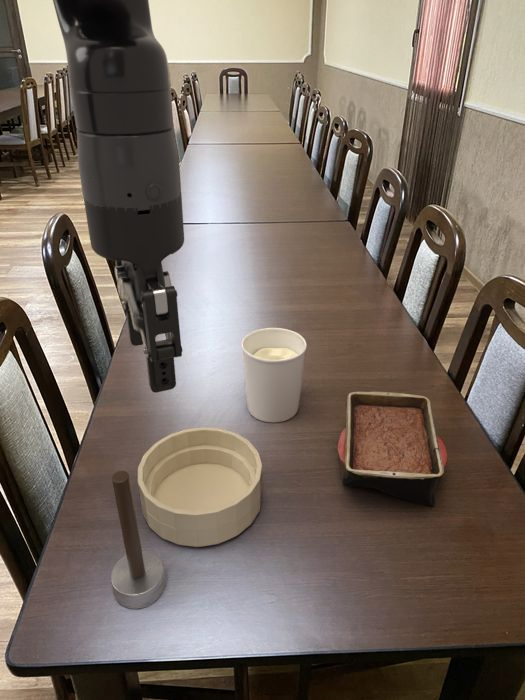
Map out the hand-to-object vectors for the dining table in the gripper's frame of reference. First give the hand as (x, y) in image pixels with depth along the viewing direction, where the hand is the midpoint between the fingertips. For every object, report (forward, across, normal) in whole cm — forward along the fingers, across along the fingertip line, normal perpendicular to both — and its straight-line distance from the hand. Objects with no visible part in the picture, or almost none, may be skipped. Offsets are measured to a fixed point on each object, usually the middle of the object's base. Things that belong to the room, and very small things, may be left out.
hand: (151, 364), depth 50 cm
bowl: (+26, -6, +6) cm, 27 cm away
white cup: (+26, -20, +22) cm, 39 cm away
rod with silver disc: (+26, +4, -5) cm, 26 cm away
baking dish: (+26, -1, +31) cm, 40 cm away
